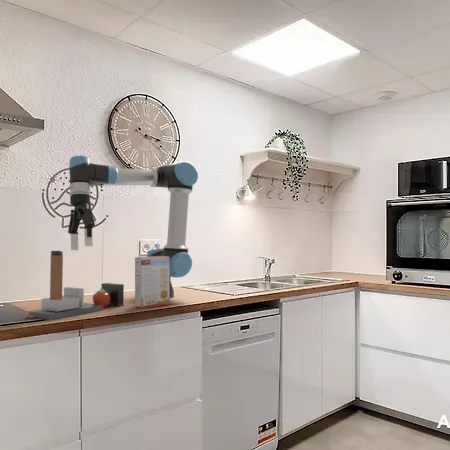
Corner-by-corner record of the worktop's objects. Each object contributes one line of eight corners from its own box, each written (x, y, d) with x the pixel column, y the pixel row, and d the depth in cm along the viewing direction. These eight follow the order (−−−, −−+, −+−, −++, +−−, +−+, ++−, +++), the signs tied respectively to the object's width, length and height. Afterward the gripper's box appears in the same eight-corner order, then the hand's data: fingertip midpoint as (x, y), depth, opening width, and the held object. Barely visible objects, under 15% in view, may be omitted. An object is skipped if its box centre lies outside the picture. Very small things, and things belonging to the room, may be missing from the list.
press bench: (104, 303, 190) (105, 282, 191) (125, 305, 184) (125, 284, 184) (28, 316, 159) (29, 291, 159) (50, 320, 152) (50, 294, 153)
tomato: (111, 305, 185) (111, 286, 185) (109, 308, 178) (110, 288, 178) (93, 305, 184) (93, 286, 184) (91, 308, 177) (91, 289, 177)
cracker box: (162, 303, 192) (162, 255, 192) (169, 305, 187) (170, 256, 188) (133, 306, 183) (134, 256, 183) (141, 308, 178) (141, 257, 179)
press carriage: (67, 304, 172) (68, 250, 172) (83, 306, 167) (84, 250, 168) (41, 309, 161) (42, 250, 162) (56, 311, 157) (57, 251, 157)
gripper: (59, 200, 180) (60, 251, 177) (83, 187, 161) (85, 244, 158) (76, 201, 185) (78, 251, 182) (102, 189, 166) (104, 244, 163)
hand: (81, 248), depth 170 cm, fingers open, 13 cm apart
